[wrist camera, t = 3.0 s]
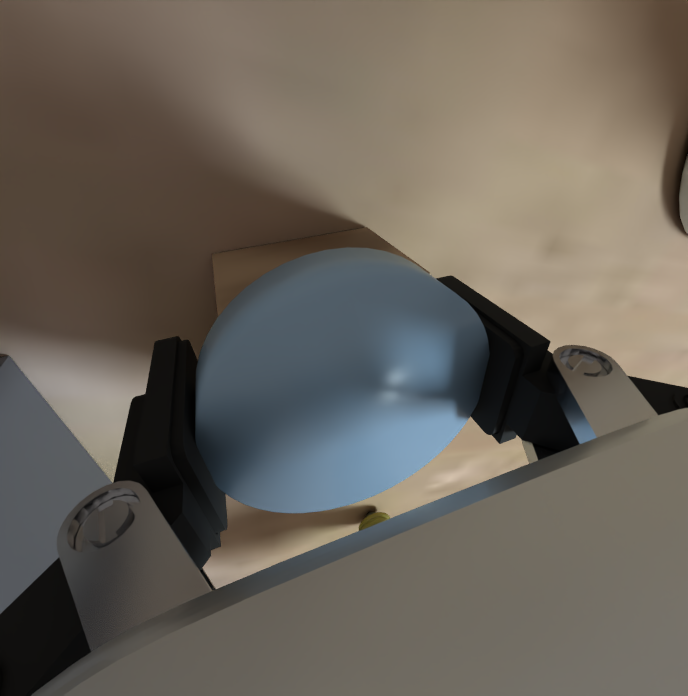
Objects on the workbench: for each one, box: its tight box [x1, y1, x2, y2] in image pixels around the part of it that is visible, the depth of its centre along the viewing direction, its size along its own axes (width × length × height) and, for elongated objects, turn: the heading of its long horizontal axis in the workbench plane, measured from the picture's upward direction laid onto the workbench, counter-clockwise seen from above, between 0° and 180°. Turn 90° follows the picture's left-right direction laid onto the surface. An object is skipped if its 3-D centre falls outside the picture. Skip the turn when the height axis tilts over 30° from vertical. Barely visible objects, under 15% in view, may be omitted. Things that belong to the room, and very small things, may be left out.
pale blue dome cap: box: [195, 247, 490, 513], centre depth 9 cm, size 7×7×2 cm
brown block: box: [212, 227, 430, 317], centre depth 11 cm, size 5×5×4 cm
